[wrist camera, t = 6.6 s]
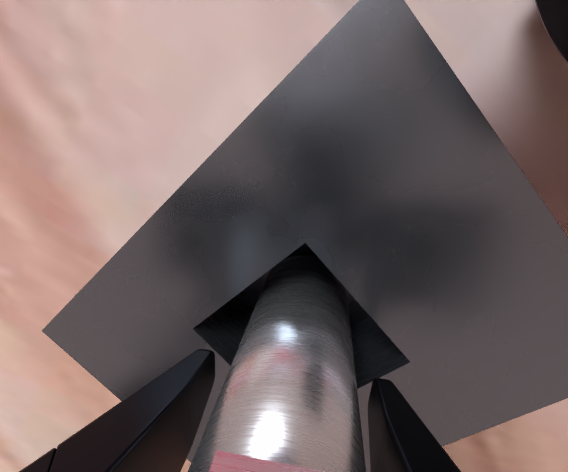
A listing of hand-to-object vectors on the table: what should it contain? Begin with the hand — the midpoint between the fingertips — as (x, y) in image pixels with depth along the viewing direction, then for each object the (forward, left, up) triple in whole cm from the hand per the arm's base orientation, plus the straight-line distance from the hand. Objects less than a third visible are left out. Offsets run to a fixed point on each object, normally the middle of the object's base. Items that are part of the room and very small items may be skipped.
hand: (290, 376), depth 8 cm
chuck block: (-3, 0, -6) cm, 7 cm away
